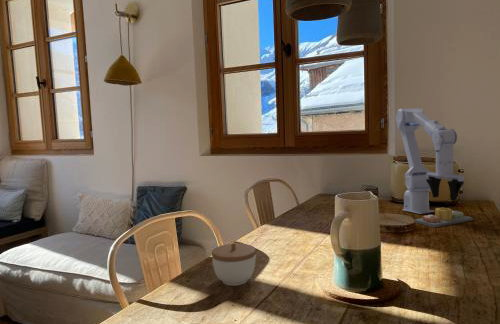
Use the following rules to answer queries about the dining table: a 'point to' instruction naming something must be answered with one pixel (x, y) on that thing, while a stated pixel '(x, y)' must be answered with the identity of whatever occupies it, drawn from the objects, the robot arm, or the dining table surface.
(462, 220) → the gear board
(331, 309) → the dining table surface
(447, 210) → the loose gear
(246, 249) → the lidded jar
